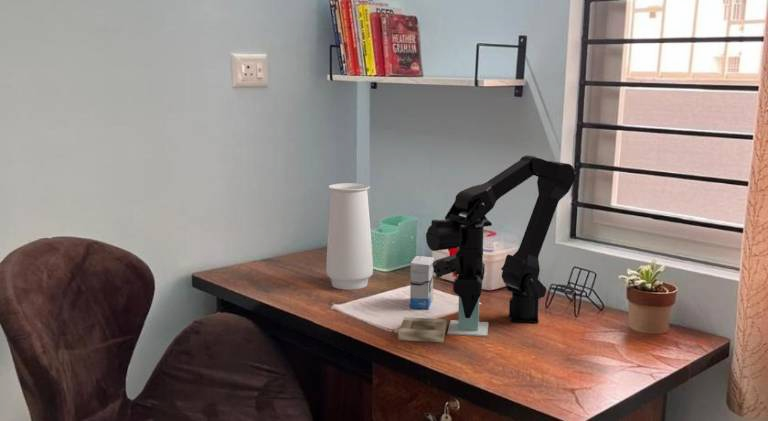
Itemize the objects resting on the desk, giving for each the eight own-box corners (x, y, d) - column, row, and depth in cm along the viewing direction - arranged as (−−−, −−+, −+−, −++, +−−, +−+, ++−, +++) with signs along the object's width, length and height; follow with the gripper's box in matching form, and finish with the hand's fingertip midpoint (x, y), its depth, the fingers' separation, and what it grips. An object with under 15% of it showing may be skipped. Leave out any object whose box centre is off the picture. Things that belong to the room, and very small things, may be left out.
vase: (368, 292, 204) (368, 190, 199) (321, 290, 206) (320, 189, 201) (376, 279, 217) (376, 183, 211) (332, 277, 219) (331, 182, 213)
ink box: (428, 309, 189) (429, 264, 187) (409, 308, 190) (409, 263, 188) (433, 299, 198) (434, 256, 196) (414, 298, 199) (415, 255, 197)
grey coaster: (488, 323, 179) (488, 322, 179) (487, 336, 170) (487, 335, 170) (450, 321, 181) (450, 320, 180) (447, 334, 172) (447, 332, 172)
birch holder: (446, 327, 176) (447, 319, 176) (442, 342, 167) (443, 333, 166) (404, 325, 178) (404, 317, 178) (398, 339, 168) (398, 331, 168)
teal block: (478, 324, 177) (479, 291, 176) (477, 331, 173) (478, 297, 171) (459, 323, 178) (460, 290, 176) (458, 329, 174) (458, 296, 172)
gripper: (439, 236, 182) (438, 298, 185) (430, 254, 164) (429, 322, 167) (485, 237, 180) (483, 300, 183) (482, 256, 162) (480, 325, 165)
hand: (468, 311), depth 175 cm, fingers open, 9 cm apart
